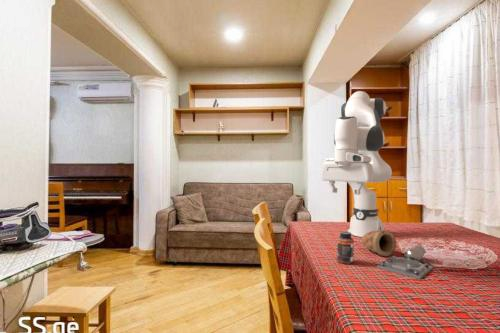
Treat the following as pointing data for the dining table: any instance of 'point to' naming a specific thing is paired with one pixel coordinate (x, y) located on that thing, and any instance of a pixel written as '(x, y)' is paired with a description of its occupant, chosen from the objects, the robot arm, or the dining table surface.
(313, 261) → the dining table surface
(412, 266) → the flange seat
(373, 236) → the clay pipe
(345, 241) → the supplement bottle
